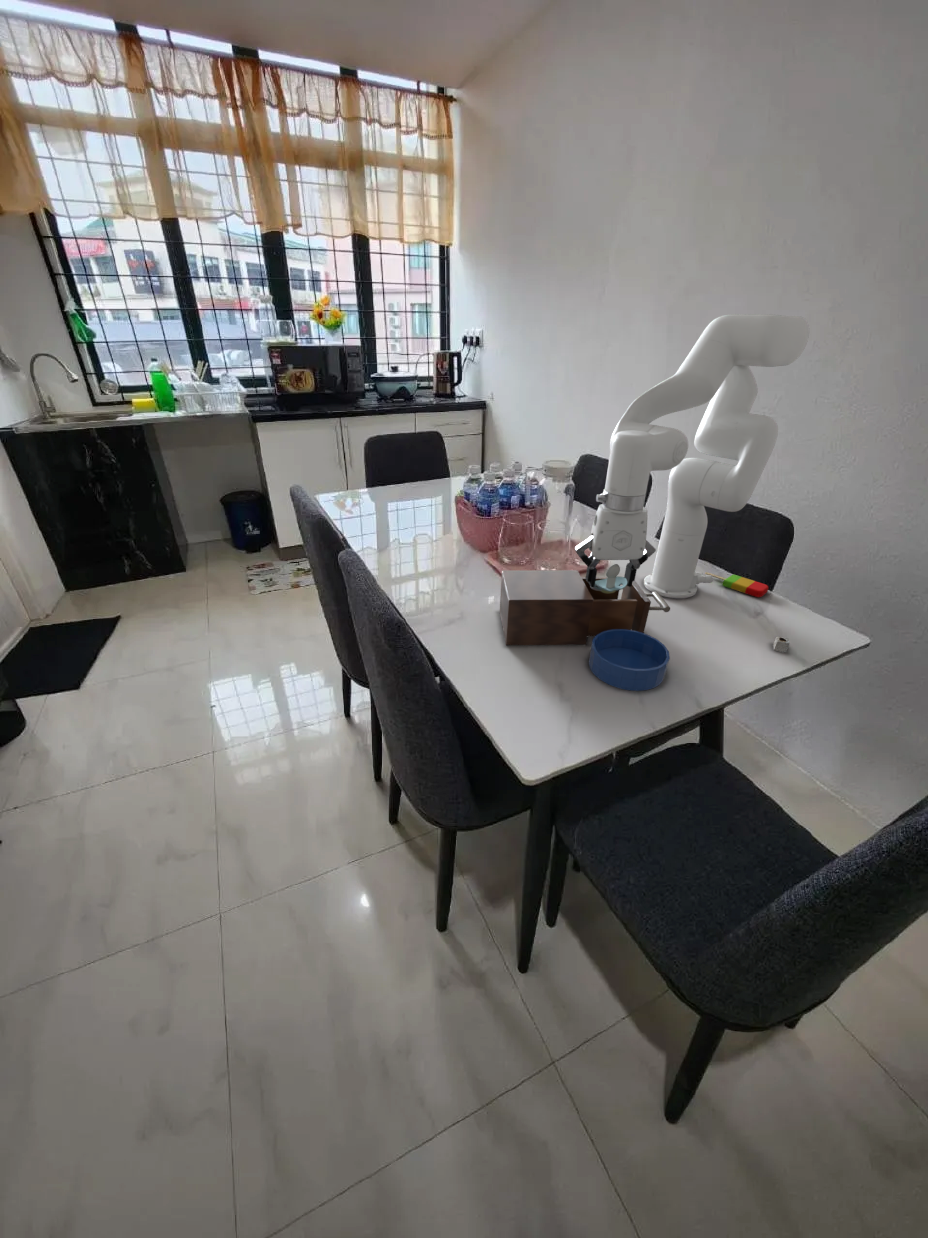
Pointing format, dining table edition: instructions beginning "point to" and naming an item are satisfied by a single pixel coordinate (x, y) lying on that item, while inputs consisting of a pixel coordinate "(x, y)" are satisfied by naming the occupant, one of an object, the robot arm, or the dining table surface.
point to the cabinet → (544, 607)
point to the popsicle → (743, 585)
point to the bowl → (628, 659)
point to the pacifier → (611, 581)
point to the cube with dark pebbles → (781, 644)
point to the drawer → (621, 608)
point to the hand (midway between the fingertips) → (609, 583)
